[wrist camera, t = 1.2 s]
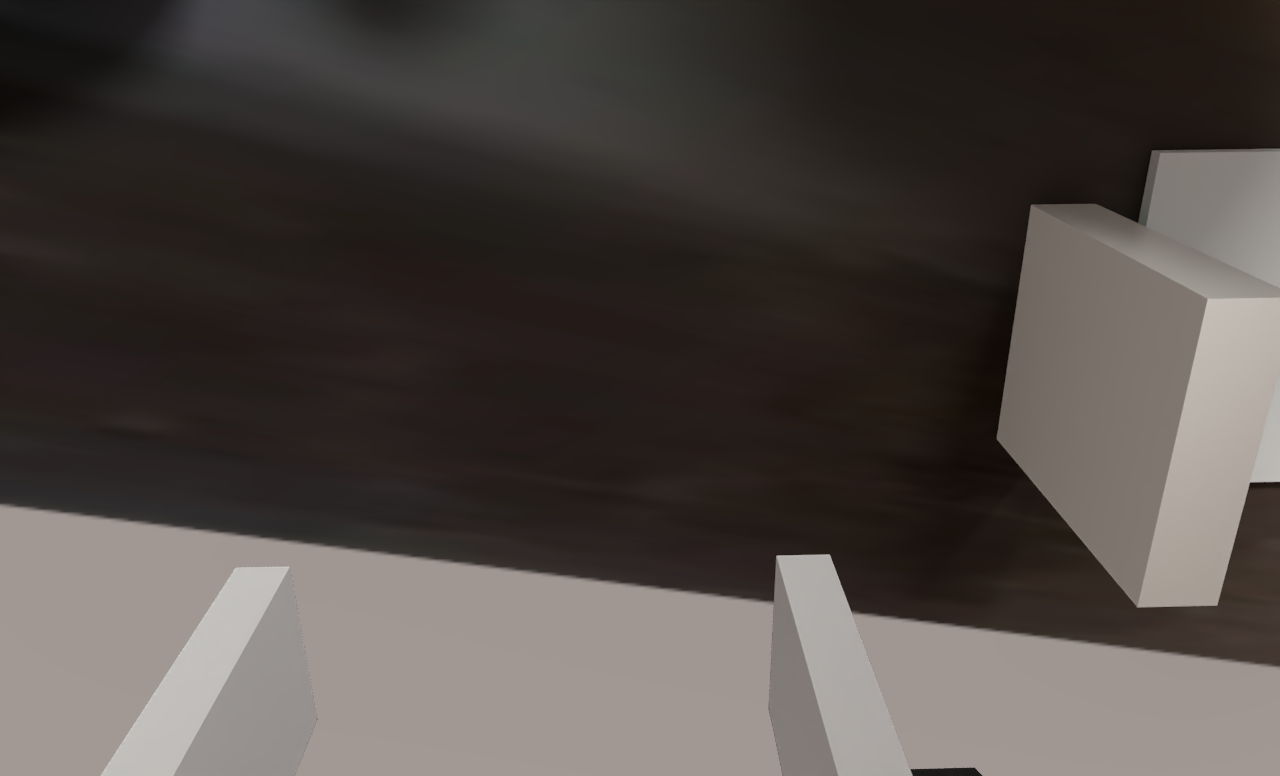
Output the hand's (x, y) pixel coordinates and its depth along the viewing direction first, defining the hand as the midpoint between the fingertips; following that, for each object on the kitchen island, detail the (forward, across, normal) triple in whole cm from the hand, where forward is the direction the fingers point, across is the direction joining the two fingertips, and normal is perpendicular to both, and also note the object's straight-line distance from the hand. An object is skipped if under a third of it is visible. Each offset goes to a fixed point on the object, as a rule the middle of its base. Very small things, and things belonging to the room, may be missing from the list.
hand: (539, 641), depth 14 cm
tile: (+25, +18, -4) cm, 31 cm away
